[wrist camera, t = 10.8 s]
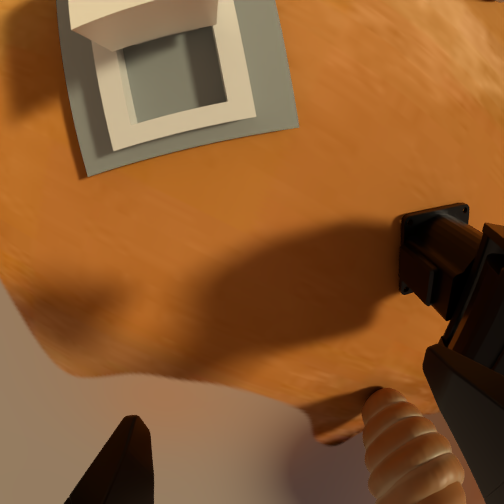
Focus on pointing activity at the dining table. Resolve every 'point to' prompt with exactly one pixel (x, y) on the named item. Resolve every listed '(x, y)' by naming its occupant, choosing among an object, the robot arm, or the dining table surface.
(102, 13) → the block
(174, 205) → the dining table surface
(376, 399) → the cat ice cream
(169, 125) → the rail panel
